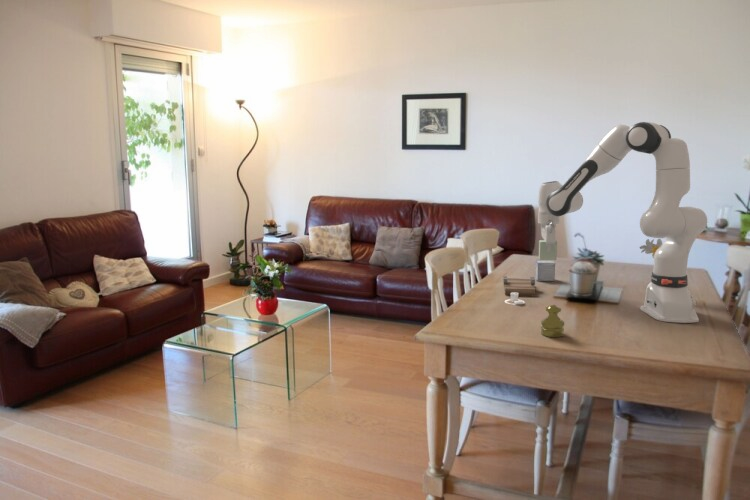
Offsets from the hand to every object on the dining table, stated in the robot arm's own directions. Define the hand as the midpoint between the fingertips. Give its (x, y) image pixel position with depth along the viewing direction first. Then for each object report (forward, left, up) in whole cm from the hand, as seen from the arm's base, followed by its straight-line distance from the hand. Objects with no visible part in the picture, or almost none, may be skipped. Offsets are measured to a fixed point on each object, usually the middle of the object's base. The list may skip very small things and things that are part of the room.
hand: (547, 250), depth 250 cm
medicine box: (+15, -1, -17) cm, 23 cm away
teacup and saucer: (-26, +17, -17) cm, 35 cm away
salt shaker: (-62, +4, -17) cm, 64 cm away
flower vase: (-9, -44, -17) cm, 48 cm away
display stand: (-5, +12, -17) cm, 21 cm away
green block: (0, 0, -4) cm, 4 cm away
